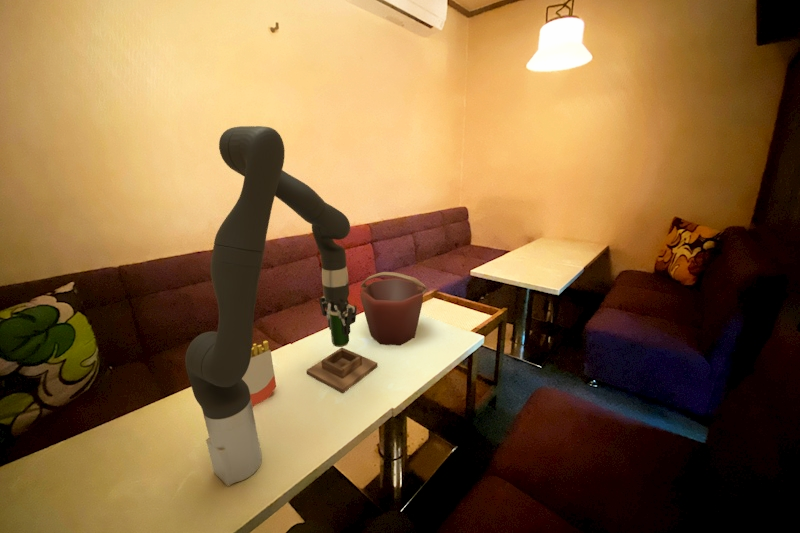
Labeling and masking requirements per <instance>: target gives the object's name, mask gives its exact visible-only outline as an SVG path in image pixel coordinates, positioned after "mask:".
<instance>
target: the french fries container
mask: <svg viewBox="0 0 800 533" xmlns="http://www.w3.org/2000/svg"><path fill="white" fill-rule="evenodd" d="M262 345H263V346H262ZM272 356H273V355H272V351H271V348H270V346H269V341H268V340H264V341H262V344H258V345H257V343H252V352H251V359H250V363H249V366H248V369H247V371H246V373H245V375H244V376H243V378H242V380H243V381H244V382H245V383H246V384H247V385H248V388H249V391H250V397H251V402H252V407H254V406H255V405H256V406H257V405H258V404H259V403H261V402H264V401H265V400H267V399H269V398H270V396H271V395H272V394H273V392H274V390H275V389H276V387H277V384H276V376H275V370H274V363H273V357H272Z"/></svg>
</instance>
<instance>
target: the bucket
mask: <svg viewBox="0 0 800 533" xmlns="http://www.w3.org/2000/svg"><path fill="white" fill-rule="evenodd" d="M378 277H379V278H380V277H394V278H387V279H379V280H373V279H375V278H378ZM370 280H371V281H370ZM372 280H373V281H372ZM368 281H370V282H369V283H368V284H366V283H367V282H368ZM360 288H361V289H360V295H359V296H360V301H361V304H362V308H363V312H364V316H365V319H366V320H365V321H366V324H367V327H368V330H369V334H370V337H371V338H372V339H373V340H375V341H376V342H377V343H378V344H379V345H383V346H384V345H385V346H402V345H404V344H406V343H408V342H410V341H411V340H413V339H415V338H416V334H417V330H418V324H419V319H420V315H421V312H422V311H421V310H422V306H423V303H424V295H425V294H426V292H427V291H428V288H427V286H426V285H425V284H424V283H423V282H421V281H420V280H419V279H418V278H416V277H413V276H409V275H406V274H403V273H401V272H400V273H399V272H395V271H394V272H392V271H383V272H382V271H381V272H379V273H374V274H372V275H370V276H368V277H366V278H365V279H364V281H363V282H362V283H360Z"/></svg>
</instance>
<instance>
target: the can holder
mask: <svg viewBox="0 0 800 533" xmlns="http://www.w3.org/2000/svg"><path fill="white" fill-rule="evenodd" d="M376 368H378V362H376V361H374V360H372V359H370V358H368V357H366V356H363V355H361V354H358V353H356V352H353V351H351V350H349V349H347V348H345V347H339V349H337V350H336V351H334V352H332V353H331V354H329V355H328V356H326V357H324V358H323V359H322V360H319V361H318V362H317V363H315V364H314V365H312V366H310V367H309V368H307V369H306V370H305V371H306V372H305V373H306V375H307V376H309V377H311V378H313V379H315V380H317V381H318V382H319V383H320V382H321V383H322V384H324V385H326V386H327V387H330V388H332V389H333V390H335V391H337V392H339V393H341V394H344V393H346V392H347V391H348V390H350V389H351V388H352V387H354V386H355V385H356V384H357V383H359V382H360V381H361V380H362V379H363V378H365V377H366V376H368V375H369V374H370V373H371V372H373V371H375V370H376ZM349 388H350V389H349ZM345 391H346V392H345Z"/></svg>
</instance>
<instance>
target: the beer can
mask: <svg viewBox="0 0 800 533" xmlns="http://www.w3.org/2000/svg"><path fill="white" fill-rule="evenodd" d="M346 312H347V311H345V312H343V313H342V315H344V314H346ZM329 317H330V328H331V330H330V337H331V338H330V339H331V343H332V345H333V347H336V348H344V347H346V346H347V345H348V344H349V342H350V333H349V334H348V335H347V336H344V335H343V326H342V325H343V323H342V321H341V319H339V315H338V312H337V311H336V310H333V309H331V310H330V311H329ZM346 320H347V319H346V317H345V321H346Z"/></svg>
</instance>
